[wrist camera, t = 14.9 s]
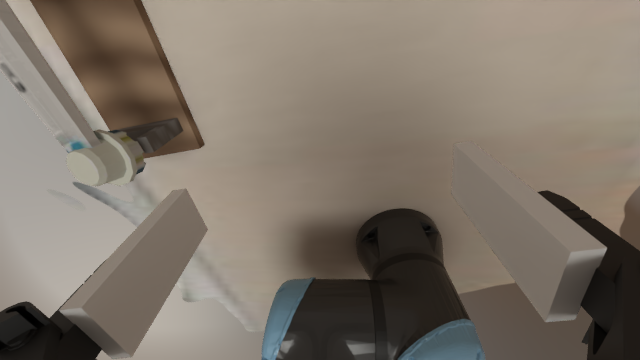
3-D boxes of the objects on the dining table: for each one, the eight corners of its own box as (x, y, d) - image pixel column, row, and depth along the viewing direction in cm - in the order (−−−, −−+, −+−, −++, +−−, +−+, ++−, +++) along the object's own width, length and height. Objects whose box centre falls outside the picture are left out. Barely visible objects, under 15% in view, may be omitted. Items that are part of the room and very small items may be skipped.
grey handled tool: (-116, -129, 18) (113, 193, 26) (2, -79, 24) (157, 169, 32) (-160, -89, 19) (74, 207, 27) (-36, -51, 25) (124, 181, 33)
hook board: (204, 144, 41) (175, 171, 33) (135, 157, 42) (91, 186, 35) (106, -79, 28) (21, -119, 21) (11, -50, 30) (-101, -77, 22)
